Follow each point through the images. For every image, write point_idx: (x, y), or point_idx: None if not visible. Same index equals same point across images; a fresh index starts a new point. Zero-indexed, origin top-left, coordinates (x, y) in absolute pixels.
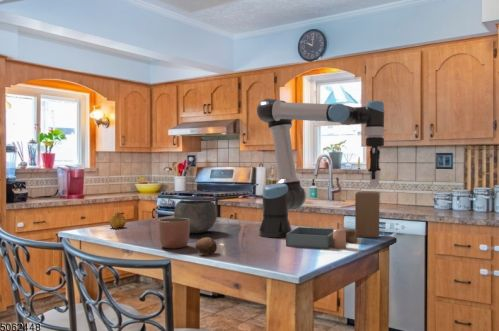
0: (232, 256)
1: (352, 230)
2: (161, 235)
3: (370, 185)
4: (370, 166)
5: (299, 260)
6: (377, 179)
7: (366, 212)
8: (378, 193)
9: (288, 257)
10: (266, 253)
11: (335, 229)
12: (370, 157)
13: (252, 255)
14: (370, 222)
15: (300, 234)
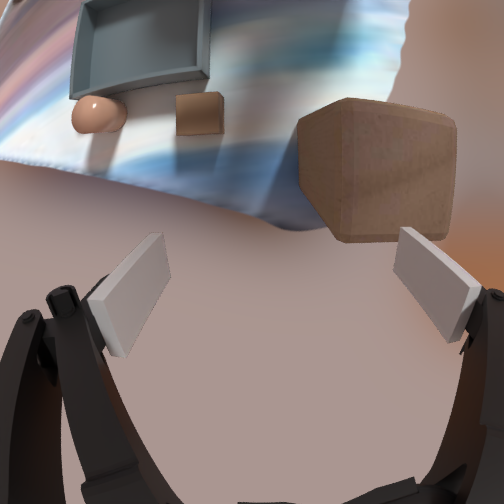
0: (16, 16)
1: (195, 121)
2: None
3: (146, 240)
4: (14, 335)
5: (7, 108)
6: (415, 285)
7: (313, 160)
8: None
9: (17, 81)
10: (34, 33)
11: (89, 101)
12: (82, 485)
13: (22, 29)
14: (306, 173)
15: (76, 31)
